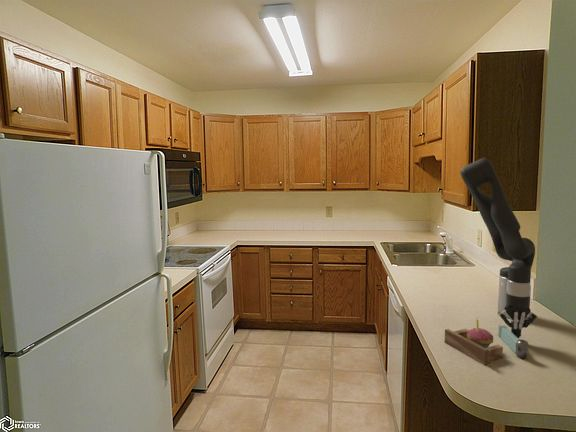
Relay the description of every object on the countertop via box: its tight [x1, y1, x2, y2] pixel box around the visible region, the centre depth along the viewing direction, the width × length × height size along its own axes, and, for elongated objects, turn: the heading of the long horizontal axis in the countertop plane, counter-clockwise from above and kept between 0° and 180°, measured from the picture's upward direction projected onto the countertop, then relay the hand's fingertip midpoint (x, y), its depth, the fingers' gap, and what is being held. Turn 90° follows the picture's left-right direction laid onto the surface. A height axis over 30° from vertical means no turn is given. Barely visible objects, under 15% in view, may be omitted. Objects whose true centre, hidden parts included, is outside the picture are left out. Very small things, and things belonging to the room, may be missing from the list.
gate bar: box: [497, 324, 520, 354], centre depth 136 cm, size 14×2×4 cm, turn 172°
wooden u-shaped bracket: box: [444, 328, 504, 366], centre depth 132 cm, size 9×17×5 cm, turn 22°
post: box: [516, 339, 529, 360], centre depth 127 cm, size 3×3×6 cm
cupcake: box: [467, 318, 494, 348], centre depth 133 cm, size 9×8×12 cm
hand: (515, 337), depth 138 cm, fingers closed
